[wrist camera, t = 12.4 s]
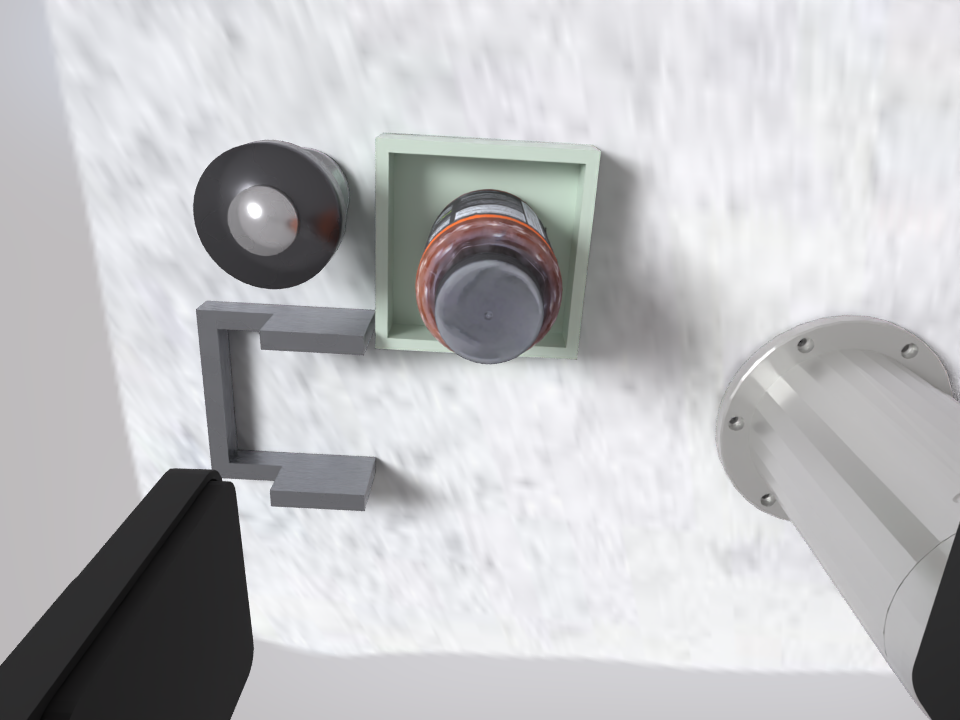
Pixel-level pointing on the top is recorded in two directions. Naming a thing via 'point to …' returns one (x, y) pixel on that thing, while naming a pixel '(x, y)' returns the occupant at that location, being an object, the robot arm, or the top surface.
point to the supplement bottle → (488, 278)
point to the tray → (461, 169)
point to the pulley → (271, 212)
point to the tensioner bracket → (280, 329)
